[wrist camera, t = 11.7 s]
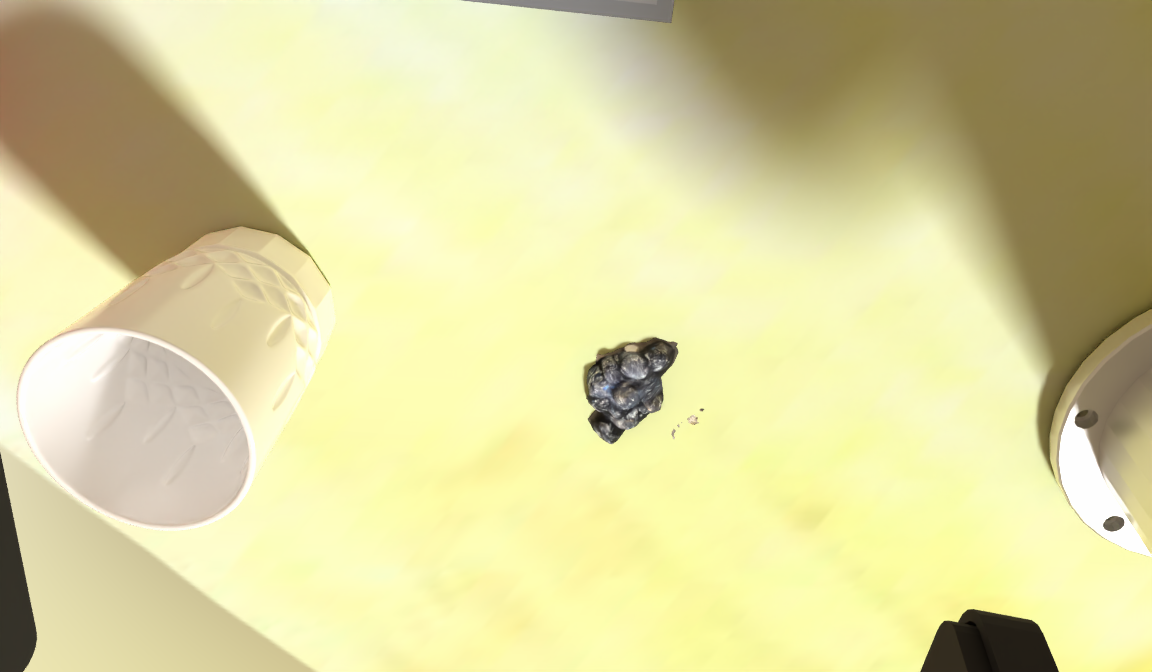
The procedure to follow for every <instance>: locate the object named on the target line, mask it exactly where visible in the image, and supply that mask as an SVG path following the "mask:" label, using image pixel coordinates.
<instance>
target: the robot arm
mask: <svg viewBox="0 0 1152 672" xmlns="http://www.w3.org/2000/svg"><path fill="white" fill-rule="evenodd" d="M1049 439H1050V461H1051V465H1052V468H1053V471H1054V475H1055V478H1056V482H1057V483H1058V485H1059V487H1060V489H1061V490H1062V492H1063V494H1064V496H1065V498H1066V500H1067V502H1068V504H1069V505H1070V506H1071V507H1072V509H1073V510H1074V511H1075V513H1076V514H1077V515H1078V516H1079V518H1080V519H1081V520H1082V521H1083V523H1085V524H1086V525H1087V526H1088V527H1089V528H1091V529H1092V530H1093V531H1094V532H1095V533H1097V534H1098V535H1099V536H1101V537H1102V538H1104V539H1106V540H1108V541H1110V542H1112V543H1114V544H1116V545H1118V546H1120V547H1122V548H1124V549H1126V550H1130V551H1133V552H1137V553H1140V554H1143V555H1147V556H1150V557H1152V309H1150V310H1148V311H1147V312H1145V313H1143V314H1141V315H1139V316H1137V317H1135V318H1134V319H1132V320H1131V321H1130V322H1128V323H1127V324H1126V325H1124V326H1123V327H1121V328H1120V329H1119V330H1117V331H1116V332H1114V333H1113V334H1112V335H1110V336H1109V337H1108V338H1106V339H1105V340H1104V341H1103V342H1102V343H1101V344H1100V345H1099V346H1098V347H1097V348H1096V349H1095V350H1094V351H1093V352H1092V353H1091V354H1090V355H1089V356H1088V357H1087V358H1086V359H1085V360H1084V361H1083V363H1082V364H1081V366H1080V367H1079V368H1078V370H1077V371H1076V373H1075V374H1074V375H1073V377H1072V378H1071V380H1070V381H1069V382H1068V384H1067V385H1066V387H1065V390H1064V392H1063V394H1062V396H1061V398H1060V400H1059V403H1058V405H1057V407H1056V409H1055V412H1054V417H1053V421H1052V426H1051V431H1050V435H1049ZM36 641H37V632H36V627H35V622H34V617H33V612H32V607H31V602H30V597H29V592H28V587H27V583H26V577H25V572H24V567H23V562H22V557H21V553H20V548H19V543H18V538H17V533H16V528H15V523H14V518H13V513H12V508H11V503H10V498H9V493H8V488H7V483H6V478H5V473H4V469H3V464H2V459H1V454H0V672H23V671H24V670H25V668H26V667H27V665H28V664H29V662H30V660H31V658H32V656H33V653H34V650H35V647H36ZM920 672H1059V671H1058V668H1057V666H1056V663H1055V661H1054V659H1053V656H1052V654H1051V652H1050V649H1049V647H1048V644H1047V642H1046V640H1045V637H1044V635H1043V633H1042V631H1041V629H1040V628H1039V626H1038V625H1037V624H1036V623H1035V622H1033V621H1032V620H1028V619H1022V618H1017V617H1012V616H1006V615H1001V614H996V613H990V612H985V611H980V610H974V609H970V610H967V611H966V612H965V613H963V614H962V616H961V618H960V620H959V621H958V622H953V621H944V622H943V623H942V624H941V625H940V627H939V629H938V630H937V633H936V635H935V638H934V640H933V642H932V645H931V647H930V650H929V652H928V654H927V657H926V659H925V662H924V664H923V667H922V669H921V671H920Z"/></svg>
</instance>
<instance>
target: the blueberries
mask: <svg viewBox="0 0 1152 672" xmlns="http://www.w3.org/2000/svg"><path fill="white" fill-rule="evenodd" d="M677 344H678V343H676V342H668V341H665V340H662V339H658V338H653V339H651V340H650V341H647V342H641V343H629V344H627V345H626V346H625V347H623V348H620V349H617V350H615V351H614V352H611V353H607V354H605V355H601V354H597V357H596V364H595V365H593V366H592V367H591V368H590V369H589V371H588V375H587V385H588V388H589V395H588V396H587V398H586V399H587V400H588V403H589V404H590V405H592V406H593V408H594V409H595V411H594V412H593V413H592V414H591V416H590V417H589V418H588V421H589V422H590V424H591V426H592V428H593V430H594V431H595V432H596V433H597V434H598V435H599V437H600V438H602V439H603V440H605V441H606V442H608V443H610V444H613V443H614V442H616V441H617V440H618V439H619V438H620V436H621V435H622V434H623V432H624V431H625V430H628V429H631V428H633V427H635V426H637V425H638V423H639V422H640V421H642V420H643V419H644V418H645V417H646V416H647V415H648V414H649V413H654V412H656V411H659V410H660V408H661V404H662V402H663V387H662V380H661V376H662V375H663V374H664V373H665V372H666V371H667V370H668V369H669V368H670V366H672V364H673V363H674V361H675V359H676V357H677V354H678V349H677V347H676V346H677ZM703 410H704V409H700V411H703ZM697 418H698V417H695V415H692V416H691V417H690V418H688V421H689V422H688V423H691V424H692V425H695V424H697V423H699V422H697ZM681 423H682V422H681ZM677 426H678V427H679V425H677ZM674 433H675V430H673V431H672V436H673V439H675V437H674Z"/></svg>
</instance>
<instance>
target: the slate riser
mask: <svg viewBox="0 0 1152 672" xmlns="http://www.w3.org/2000/svg"><path fill="white" fill-rule="evenodd" d="M463 1H473V2H482V3H491V4H500V5H510V6H519V7H528V8H537V9H547V10H556V11H565V12H574V13H584V14H593V15H602V16H611V17H621V18H630V19H639V20H649V21H658V22H667V23H671V21H672V13H673V6H674V0H463Z"/></svg>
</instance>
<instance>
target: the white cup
mask: <svg viewBox="0 0 1152 672" xmlns="http://www.w3.org/2000/svg"><path fill="white" fill-rule="evenodd" d="M335 323H336V316H335V310H334V304H333V298H332V291H331V287H330V285H329V284H328V282H327V281H326V280H325V278H324V277H323V275H322V274H321V272H320V271H319V269H318V268H317V266H316V265H315V263H314V262H313V260H312V259H311V257H310V256H309V255H307V254H306V253H304V252H303V251H301V250H300V249H298V248H297V247H295V246H294V245H292V244H291V243H290V242H288V241H287V240H285V239H284V238H282V237H281V236H279V235H277V234H273V233H269V232H264V231H260V230H256V229H251V228H247V227H242V226H240V227H235V228H231V229H226V230H222V231H217V232H212V233H208V234H206V235H204V236H203V237H201V238H200V239H199V240H197V241H196V242H195V243H193V244H192V245H191V246H189V247H188V248H186V249H185V250H184V251H182V252H181V253H179V254H178V255H176V256H173V257H171V258H169V259H167V260H165V261H163V262H161V263H160V264H158V265H157V266H155V267H154V268H152V269H151V270H149V271H148V272H146V273H145V274H144V275H142V276H141V277H139V278H137V279H135V280H134V281H132V282H131V283H129V284H128V285H126V286H125V287H124V288H122V289H121V290H119V291H118V292H117V293H115V294H114V295H112V296H111V297H109V298H108V299H107V300H105V301H104V302H103V303H101V304H100V305H98V306H97V307H95V308H94V309H93V310H91V311H90V312H88V313H87V314H86V315H84V316H83V317H81V318H80V319H78V320H77V321H76V322H74V323H73V324H71V325H70V326H68V327H67V328H65V329H64V330H63V331H61V332H60V333H58V334H57V335H55V336H54V337H53V338H51V339H50V340H48V341H47V342H45V343H44V344H43V345H41V346H40V347H39V348H38V349H37V350H36V351H35V352H34V353H33V354H32V356H31V357H30V358H29V360H28V361H27V363H26V364H25V366H24V368H23V370H22V373H21V375H20V379H19V383H18V388H17V411H18V417H19V421H20V425H21V428H22V431H23V434H24V436H25V438H26V441H27V443H28V445H29V446H30V448H31V450H32V452H33V453H34V455H35V457H36V458H37V459H38V461H39V462H40V464H41V465H42V466H43V468H44V469H45V470H46V471H47V472H48V473H49V475H50V476H51V477H52V478H53V479H54V480H55V481H56V482H57V483H58V484H59V485H60V486H61V487H63V488H64V489H65V490H66V491H67V492H69V493H70V494H71V495H72V496H74V497H75V498H76V499H78V500H79V501H81V502H82V503H84V504H85V505H87V506H89V507H90V508H92V509H94V510H96V511H98V512H99V513H101V514H104V515H106V516H108V517H110V518H113V519H115V520H118V521H120V522H123V523H126V524H130V525H133V526H137V527H142V528H147V529H154V530H168V531H173V530H186V529H193V528H197V527H201V526H204V525H207V524H210V523H212V522H215V521H217V520H219V519H220V518H222V517H224V516H225V515H227V514H228V513H230V512H231V511H232V510H233V509H234V508H235V507H236V506H237V505H238V504H239V503H240V502H241V501H242V500H243V498H244V497H245V495H246V494H247V492H248V490H249V489H250V487H251V485H252V483H253V481H254V480H255V478H256V476H257V474H258V473H259V471H260V469H261V467H262V466H263V464H264V462H265V460H266V459H267V457H268V455H269V453H270V452H271V450H272V448H273V447H274V445H275V443H276V441H277V440H278V438H279V436H280V435H281V433H282V431H283V429H284V428H285V426H286V424H287V423H288V421H289V419H290V417H291V416H292V414H293V412H294V410H295V409H296V407H297V405H298V403H299V401H300V399H301V397H302V395H303V393H304V391H305V389H306V387H307V385H308V384H309V382H310V380H311V378H312V376H313V374H314V372H315V369H316V365H317V363H318V362H319V360H320V358H321V357H322V355H323V353H324V352H325V350H326V347H327V344H328V342H329V339H330V336H331V334H332V331H333V328H334V325H335Z"/></svg>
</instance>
